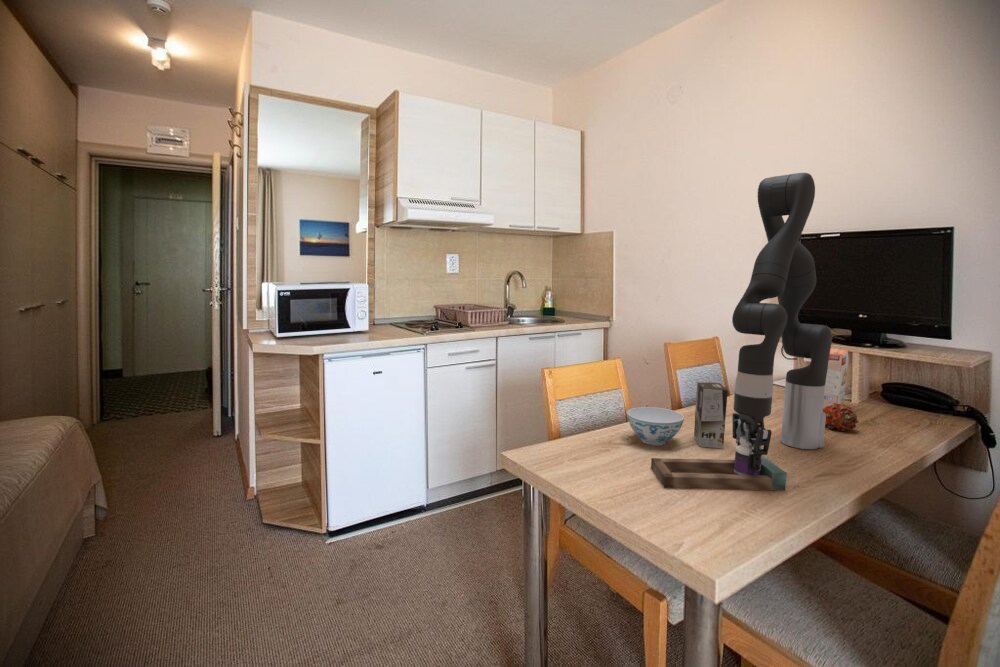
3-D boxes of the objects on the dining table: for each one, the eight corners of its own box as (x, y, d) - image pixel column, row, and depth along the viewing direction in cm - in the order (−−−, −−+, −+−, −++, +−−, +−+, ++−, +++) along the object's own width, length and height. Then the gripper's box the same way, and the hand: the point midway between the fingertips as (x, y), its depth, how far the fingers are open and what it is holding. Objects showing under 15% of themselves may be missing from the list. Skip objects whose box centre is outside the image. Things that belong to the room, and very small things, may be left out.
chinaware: (621, 432, 148) (622, 406, 147) (672, 433, 148) (674, 407, 147) (632, 450, 133) (634, 421, 132) (690, 451, 133) (691, 423, 132)
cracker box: (837, 416, 166) (844, 354, 163) (816, 413, 170) (822, 352, 167) (844, 408, 177) (850, 349, 174) (824, 405, 181) (830, 347, 178)
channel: (760, 470, 120) (761, 454, 120) (785, 490, 110) (786, 472, 109) (651, 468, 121) (651, 452, 121) (664, 487, 110) (665, 470, 110)
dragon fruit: (855, 440, 147) (817, 434, 159) (871, 421, 150) (831, 416, 161) (842, 418, 146) (804, 413, 157) (858, 399, 148) (819, 395, 159)
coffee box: (724, 449, 135) (728, 389, 133) (698, 447, 136) (702, 388, 134) (717, 438, 144) (720, 382, 142) (693, 436, 145) (696, 381, 143)
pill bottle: (758, 486, 111) (762, 444, 110) (731, 480, 114) (735, 439, 113) (760, 478, 116) (764, 437, 115) (735, 473, 119) (738, 433, 118)
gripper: (787, 400, 105) (780, 478, 107) (755, 385, 120) (749, 454, 122) (751, 400, 106) (745, 477, 108) (723, 384, 120) (718, 453, 122)
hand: (747, 464), depth 115 cm, fingers closed on pill bottle, 5 cm apart
